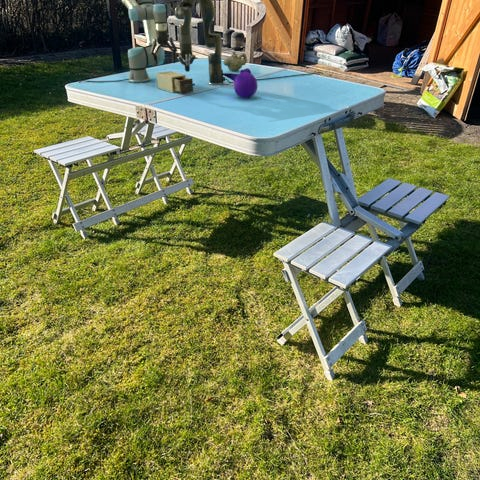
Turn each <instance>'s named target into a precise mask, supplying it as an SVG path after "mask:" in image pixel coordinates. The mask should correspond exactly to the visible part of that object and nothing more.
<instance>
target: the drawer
mask: <svg viewBox="0 0 480 480" xmlns="http://www.w3.org/2000/svg"><path fill="white" fill-rule="evenodd" d="M185 77H186V76H185ZM185 77H179V78H173V88H174V90H175V91H178V92H177V93H179V94H185V93H186V94H187V93H191V92H194V87H195V86H196V83H194V82H193V78H192V77H191V78H188V77H186V78H185Z"/></svg>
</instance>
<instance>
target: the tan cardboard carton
mask: <svg viewBox="0 0 480 480" xmlns="http://www.w3.org/2000/svg"><path fill="white" fill-rule="evenodd" d="M179 77H185V78H187V77H186V74H184V73H179V72H176V71H172V70H169V71H161V72H156V78H157V79H156V80H157V88H158V89H160V90H163V91H167V92H170V93H179V92H178V91H175V90H174V88H173V78H179Z"/></svg>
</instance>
